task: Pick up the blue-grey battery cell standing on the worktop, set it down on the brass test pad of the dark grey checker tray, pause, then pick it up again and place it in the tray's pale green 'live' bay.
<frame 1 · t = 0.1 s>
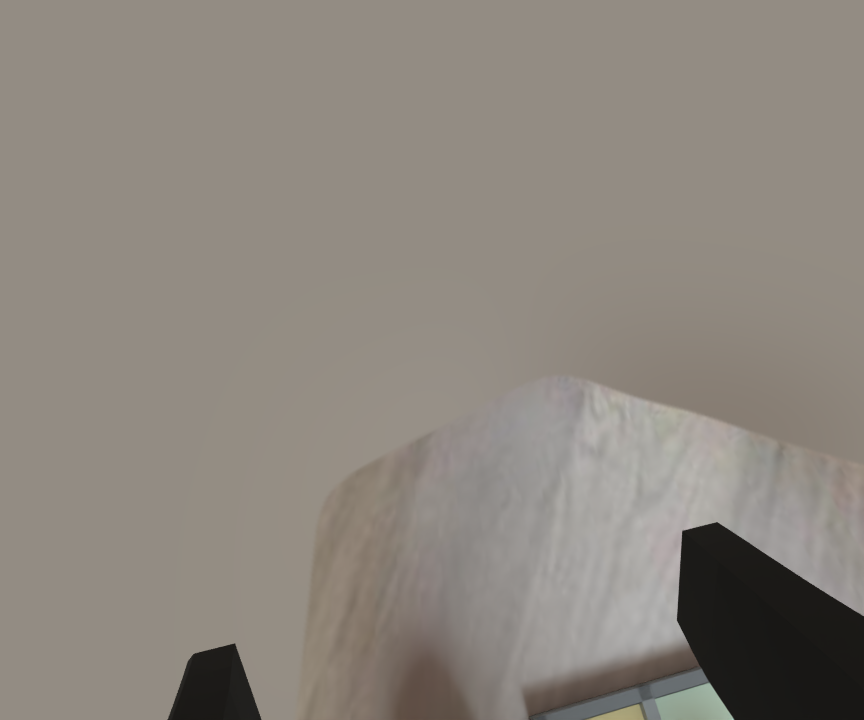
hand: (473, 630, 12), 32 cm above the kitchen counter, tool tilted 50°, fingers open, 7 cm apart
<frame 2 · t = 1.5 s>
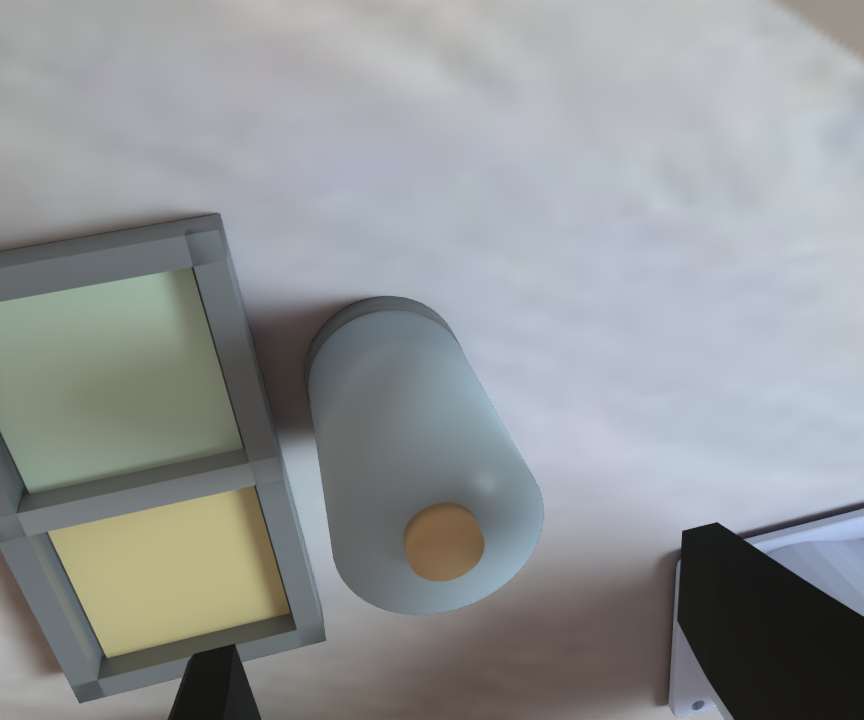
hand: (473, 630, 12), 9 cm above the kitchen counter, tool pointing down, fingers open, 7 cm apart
cell: (383, 368, 20), on the kitchen counter
checker tray: (145, 470, 19), on the kitchen counter
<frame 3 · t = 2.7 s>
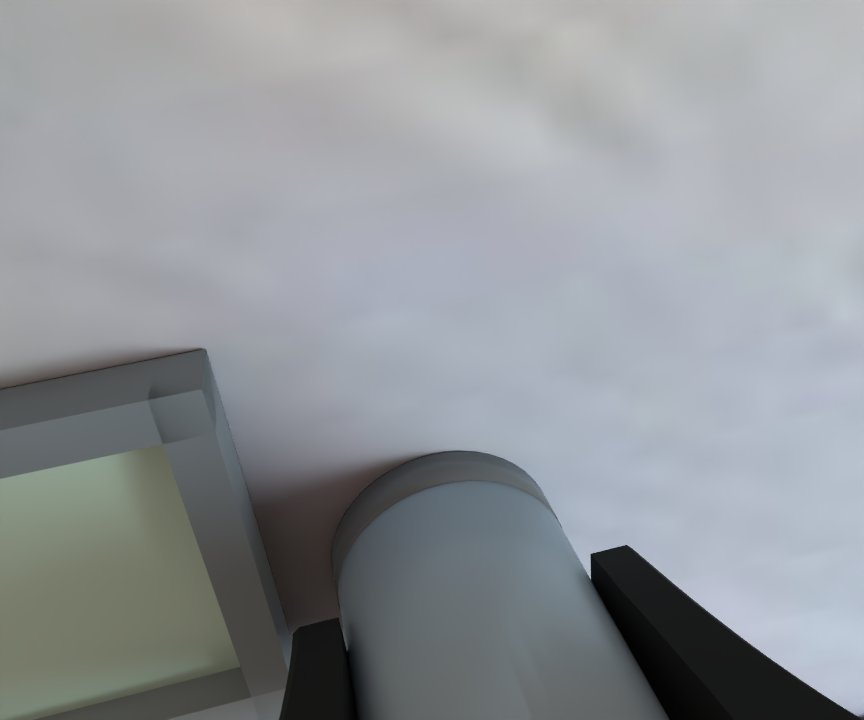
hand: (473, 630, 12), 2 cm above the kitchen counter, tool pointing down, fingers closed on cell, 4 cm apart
cell: (444, 545, 14), on the kitchen counter, touching gripper
checker tray: (100, 694, 13), on the kitchen counter
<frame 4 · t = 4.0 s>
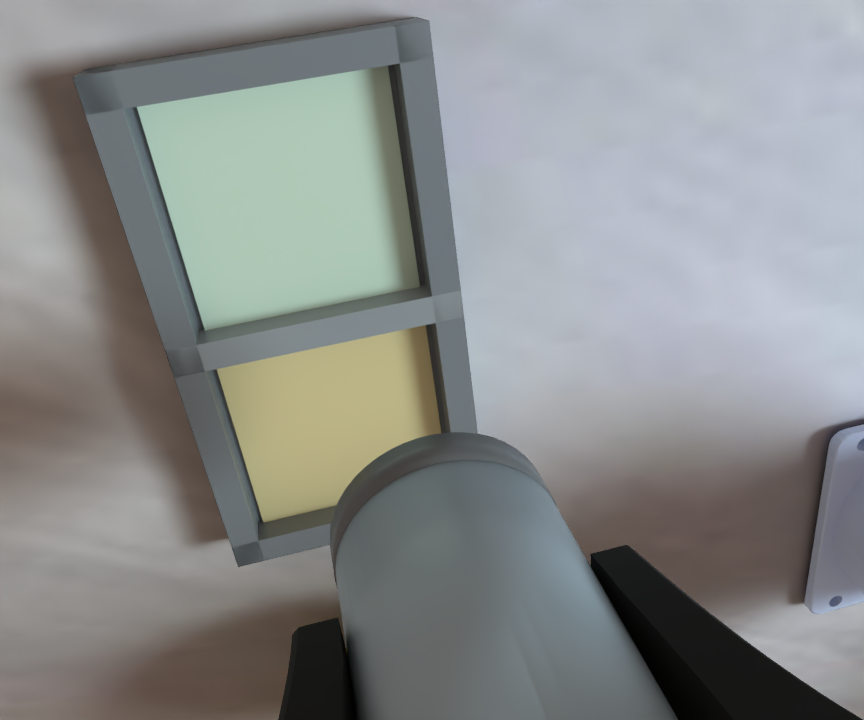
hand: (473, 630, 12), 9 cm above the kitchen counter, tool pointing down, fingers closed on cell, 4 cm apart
cell: (441, 526, 14), point 7 cm above the kitchen counter, touching gripper
checker tray: (315, 313, 19), on the kitchen counter
when the fingers open (3 cm above the kitchen counter, at t = 5.6 s): cell stays where it is, resting on checker tray.
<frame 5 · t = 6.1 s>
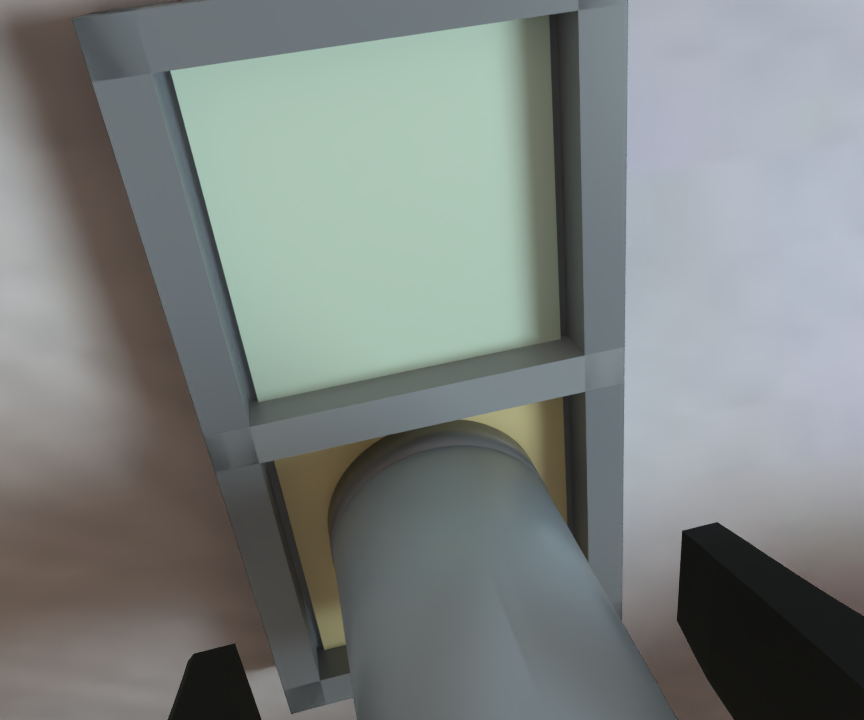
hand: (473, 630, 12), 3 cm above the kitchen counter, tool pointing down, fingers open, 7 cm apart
cell: (435, 511, 14), point 1 cm above the kitchen counter, touching checker tray
checker tray: (410, 373, 13), on the kitchen counter
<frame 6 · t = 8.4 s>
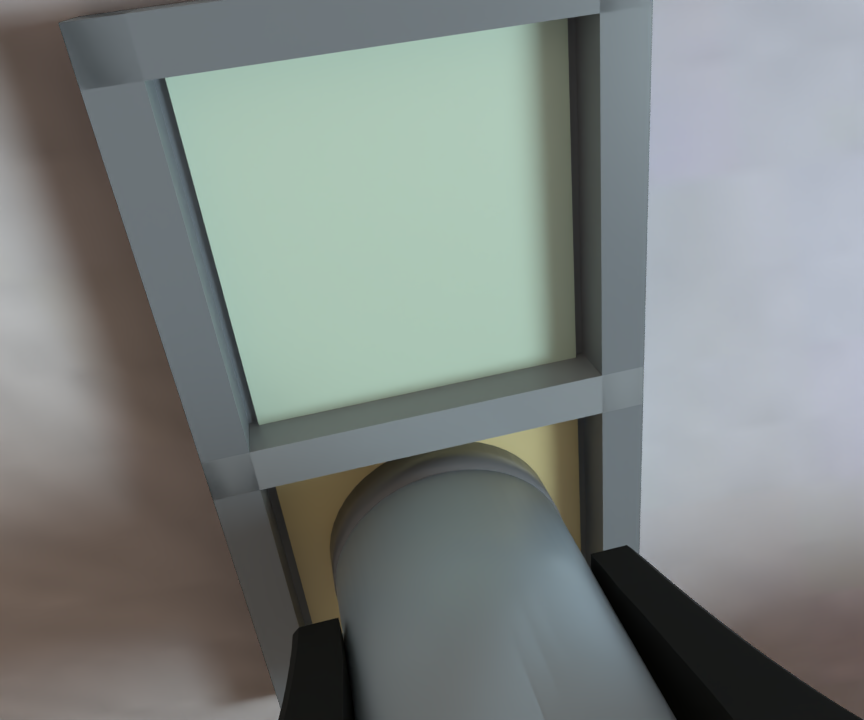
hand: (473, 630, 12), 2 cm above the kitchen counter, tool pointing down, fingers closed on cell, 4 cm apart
cell: (443, 536, 14), point 1 cm above the kitchen counter, touching checker tray, gripper
checker tray: (418, 393, 13), on the kitchen counter
when the fingers open (3 cm above the kitchen counter, at t = 11.2 s): cell stays where it is, resting on checker tray.
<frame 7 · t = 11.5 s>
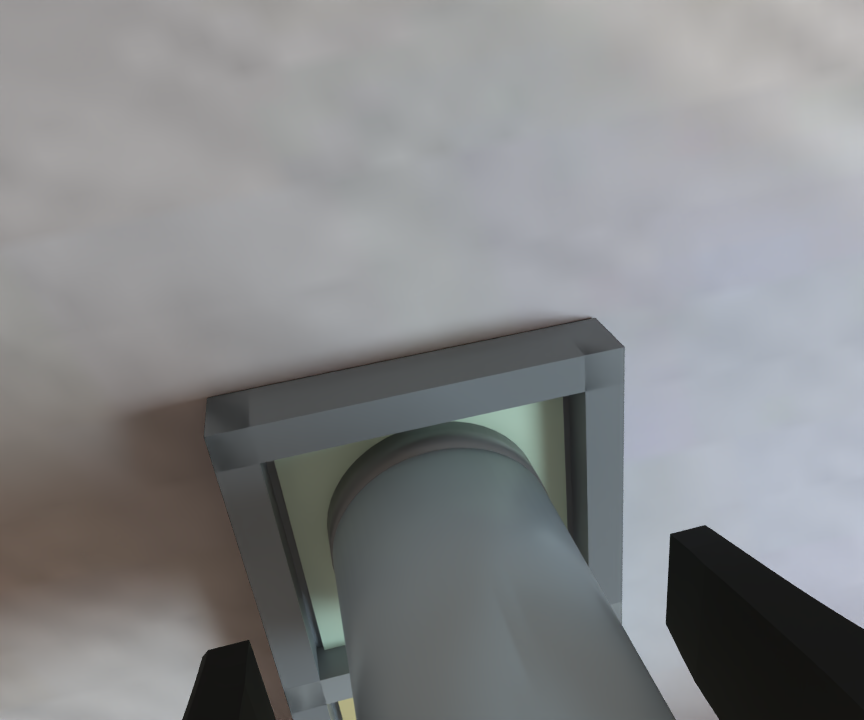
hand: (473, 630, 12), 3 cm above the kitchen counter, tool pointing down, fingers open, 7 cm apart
cell: (435, 513, 14), point 1 cm above the kitchen counter, touching checker tray
checker tray: (445, 612, 16), on the kitchen counter
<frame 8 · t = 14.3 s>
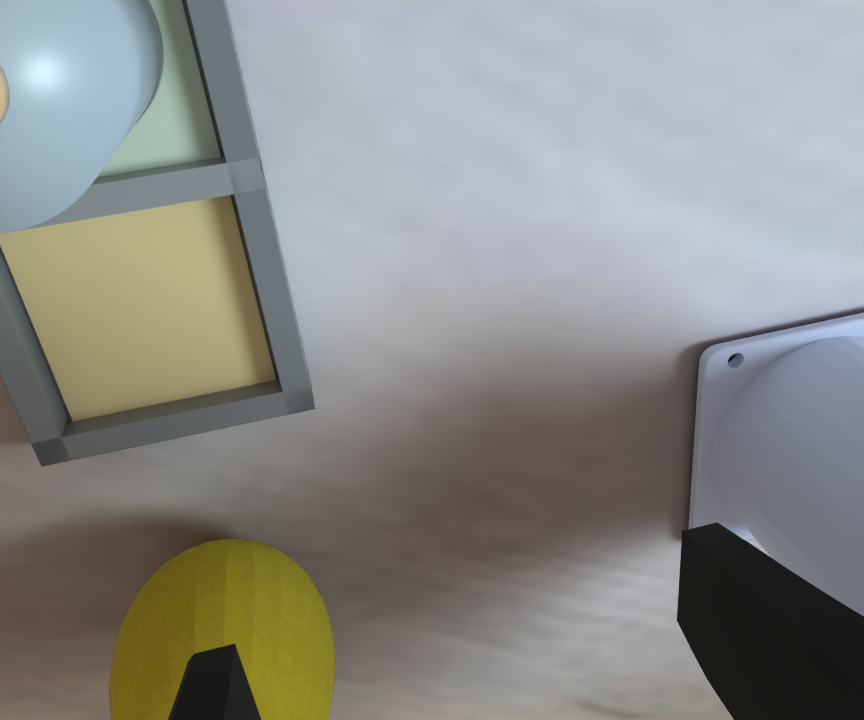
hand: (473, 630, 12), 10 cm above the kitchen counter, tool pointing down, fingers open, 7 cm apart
lemon: (229, 553, 23), on the kitchen counter
cell: (59, 42, 15), point 1 cm above the kitchen counter, touching checker tray
checker tray: (111, 186, 17), on the kitchen counter
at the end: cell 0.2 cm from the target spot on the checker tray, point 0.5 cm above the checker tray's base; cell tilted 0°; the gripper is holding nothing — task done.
